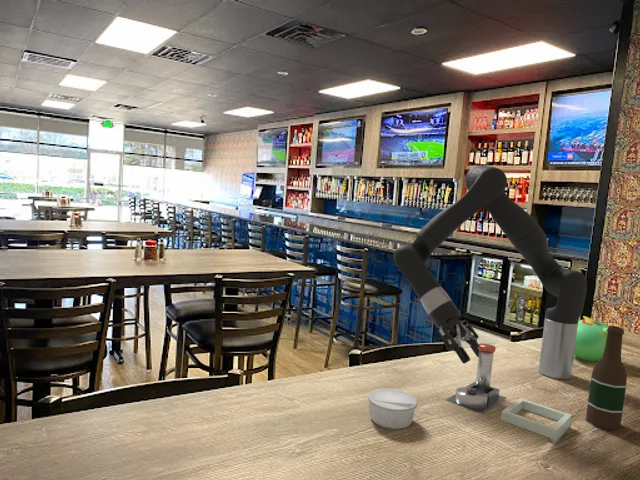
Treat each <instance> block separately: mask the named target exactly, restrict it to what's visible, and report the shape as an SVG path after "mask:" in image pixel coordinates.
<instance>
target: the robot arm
mask: <svg viewBox="0 0 640 480" xmlns="http://www.w3.org/2000/svg"><path fill="white" fill-rule="evenodd" d="M464 184H465V187H466V189H467V191H466V193H465V194H463V196H462V197H460V198H459V199H458V200H457V201H455V202H454V203H452V204H451V205H450V206H448V207H446V208H445V209H443V210H442V211H440V212H439V213H437V214H436V215H435V216H433V217H432V218H431V219H430V220H429V221H428V222H427V223H426V224H425V225H424V226H423V227H422V228H421V229H420V230H419V231H418V233H417V234H416V236H415V239H414V240H413V242H412V243H411V244H410V245H406V244H405V245H401V246H399V247H398V248H396V249H395V251H394V254H393V262H394V264H395V266H396V267H397V269H398V270H399V272H401V273H402V275H403V276H404V278H405V279H406V280H407V282H408V283H409V284H410V286H411V288H412V290H413V292H414V293H415V295H416V296H417V298H418V299H419V301H420V303H421V305H422V306H423V308H424V310H425V312H426V314H427V315H428V316H429V317H430V319H431V321H432V322H433V323H434V325H435V327H436V328H438V330H436V333H437V334H438V336H439V337H440V339H441V341H442V342H443V344H444V346H445V347H446V349H447V350H448V351H453V353H456V355H457V357H459V359H460V361H461V363H462V364H466V363H468V362H470V361H471V357H470V356H469V354H468V353H467V351H466V350H465V348H464V347H463V346H462V342H465V343H466V344H467V345H469V347H470V349H471V350H472V352H473V353H474V354H475V356H476V357H477V358H479V349H478V345H479V344H480V343H479V342H478V339H479V337H480V336H479V335H478V333H477V332H476V330H475V329H474V328H473V326H472V325H471V323H470V322H469V321H468V320H467V319H463V320H462V321H461V320H460V318H459V317H460V316H461V312H460V310H459V309H458V308H457V306H456V304H455V303H454V301H453V299H452V298H451V297H450V296H449V294H448V293H447V291H445V289H444V288H443V287H442V285H440V282H439V280H437V278H436V277H435V276H434V275H433V273H432V272H431V271H430V270H429V269H428V267H427V266H426V264H425V263H426V262H427V261H428V259H429V258H430V257H431V255H432V254H433V253H434V251H435V250H436V249H437V248H438V247H440V246H441V245H442V244H443V243H444V241H446V240H447V239H448V238H449V236H451V235H452V234H453V233H454V232H455V231H456V230H457V229H458V228H460V227H461V226H462V225H463V224H464V223H465V222H466V221H468V220H469V219H470V218H471V217H473V216H474V215H475V214H476V213H478V212H479V211H480V210H482V209H483V208H484V209H486V211H487V212H488V213H489V214H490V216H491V217H492V219H493V220H494V222H495V223H496V225H498V228H500V229H501V231H502V232H503V234H504V236H506V238H507V239H508V240H509V241H510V243H511V244H512V245H513V247H514V248H515V249H516V250H517V252H518V253H519V254H520V255H521V256H522V258H523V259H524V260H525V261H526V263H528V265H529V266H530V267H531V269H532V270H533V271H534V273H535V275H536V276H537V278H538V279H539V281H540V283H541V284H542V287H544V289H545V290H546V292H547V293H549V294H550V295H551V296H554V297H557V302H556V305H555V306H553V307H548V308H547V309H546V311H545V314H544V323H543V332H542V333H543V334H542V339H541V340H542V341H541V349H540V357H539V364H538V372H539V373H540V374H542V375H544V376H546V377H550V378H553V379H557V380H558V379H559V380H569V379H571V378H572V373H573V367H574V366H573V365H574V357H575V355H574V351H575V344H576V336H577V328H578V321H579V320H580V317H581V316H582V315H583V311H584V306H585V302H586V296H587V290H588V282H587V279H586V276H585V274H583V273H582V272H580V271H577V270H575V269H574V270H573V269H570V268H565V267H563V266H562V265H560V264H559V262H557V260H556V259H555V258H554V257H553V255H552V254H551V253H550V250H549V244H548V238H547V236H546V235H547V234H546V233H545V231H544V230H543V229H542V227H541V226H540V225H539V224H538V222H537V221H536V220H535V219H534V216H532V215H530V213H529V212H527V210H525V209H524V208H523V207H521V206H520V205H519V204H517V203H516V202H515V201H514V200H513V199H511V197H509V195H508V194H507V193H506V192H505V190H506V188H507V185H508V178H507V175H506V173H505V171H504V170H502V169H500V168H499V167H498V168H497V167H495V166H488V165H476V166H474V167H471V168H470V169H469V170H468V171H467V173H466V175H465V183H464Z"/></svg>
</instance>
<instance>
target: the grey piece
mask: <svg viewBox="0 0 640 480" xmlns="http://www.w3.org/2000/svg"><path fill="white" fill-rule="evenodd" d="M475 385H476V381H474V382H472V383H471V384H469V385H467V386H465V387H464V386H462V387H458V388H456V390H455V394H453V395H451V396H450V397H448V398H446V399H445V401H446V402H449V403H452V404H454V405H458V406H460V407H462V408H465V409H468V410H469V411H470V410H471V411H473V412H476V413H478V414H481V415H484V414H486V413H487V412H489V411H490V410H492V409H493V408H495V407H496V406H498V405H499V404H500V403H502V402H504V400H506V399H507V397H506V396H504V395H500V391H501V390H500V388H496V387H494V386H491V385H490V389H489V393H485V392H483V391H481V390H478V389H475Z"/></svg>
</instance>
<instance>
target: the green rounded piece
mask: <svg viewBox="0 0 640 480" xmlns="http://www.w3.org/2000/svg"><path fill="white" fill-rule="evenodd" d="M582 318H583V319H579V320H578V328H577V336H576V344H575V351H574V357H575V356H576V358H578V359H580V360H584V361H587V362H598V361H599V360H600V359H601V358H602V356H603V353H604V349H605V344H606V340H607V335H608V331H607V329H608V327H609V326H608V325H606V324H605V323H603V322H601V321H600V320H594V319H592V318H591V317H588V316H585V315H583V316H582ZM619 327H620V328H623V329H624V327H623V326H619Z"/></svg>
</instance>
